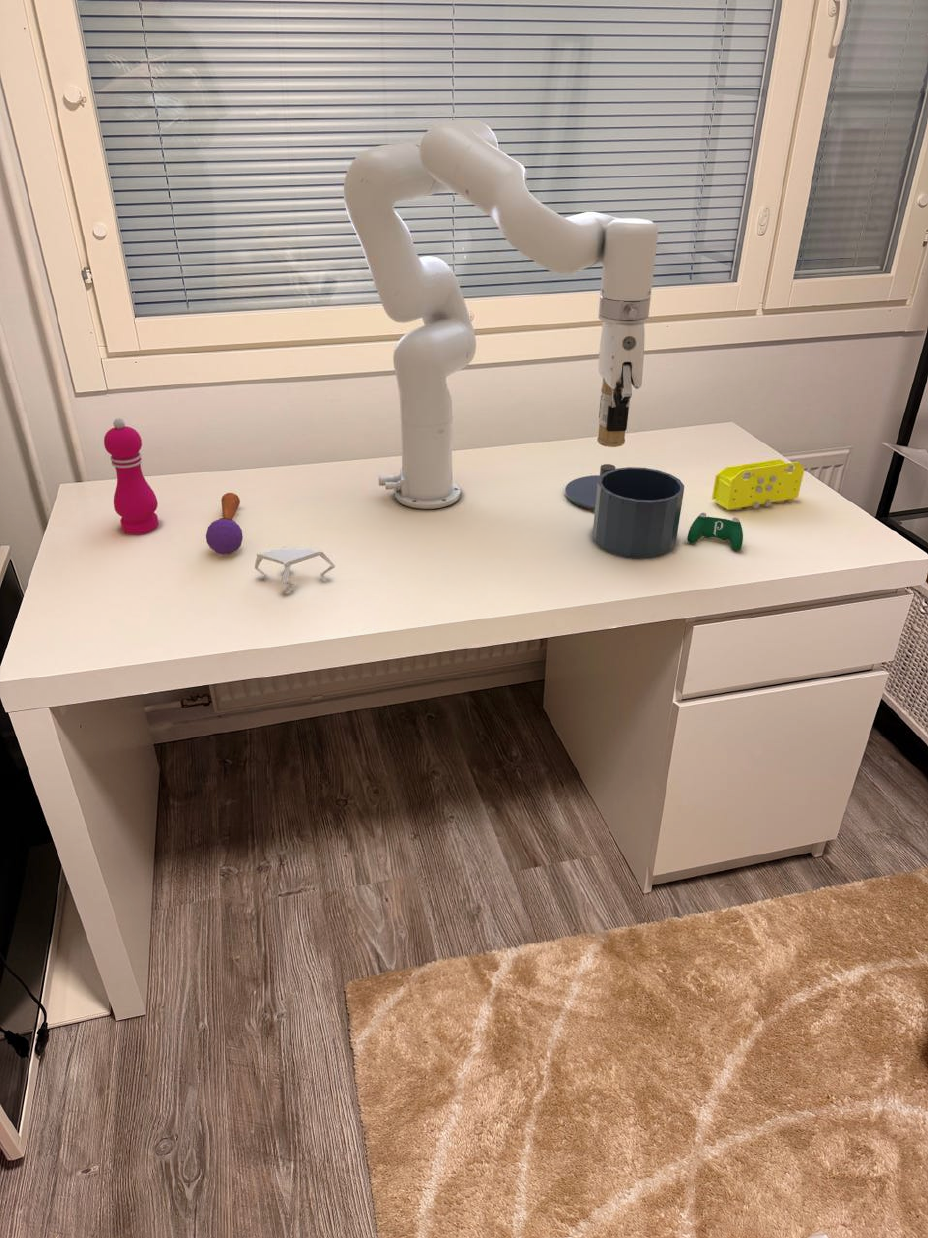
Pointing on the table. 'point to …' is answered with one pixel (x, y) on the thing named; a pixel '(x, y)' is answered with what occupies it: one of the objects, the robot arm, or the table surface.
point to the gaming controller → (717, 530)
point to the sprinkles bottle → (605, 436)
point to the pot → (637, 512)
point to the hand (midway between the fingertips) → (612, 423)
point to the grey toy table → (290, 561)
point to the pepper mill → (130, 480)
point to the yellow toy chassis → (757, 484)
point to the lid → (586, 488)
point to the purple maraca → (225, 528)
